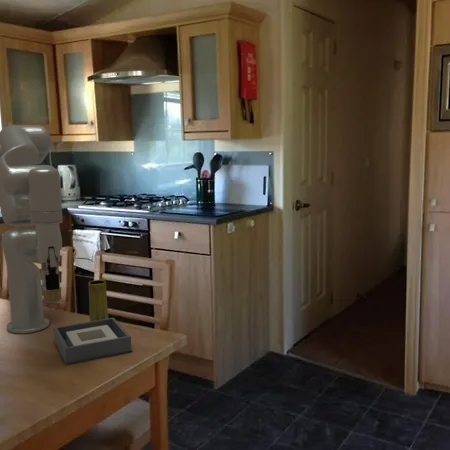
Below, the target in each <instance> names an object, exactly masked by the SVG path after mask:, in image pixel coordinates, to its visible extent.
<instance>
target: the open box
mask: <svg viewBox="0 0 450 450" xmlns="http://www.w3.org/2000/svg"><path fill="white" fill-rule="evenodd" d="M103 325H108V326H109V328H110V329H111V330H112V331H113V333H114V334H115V335H116V336H117V337H118V338H115V339H109V340H104V341H98V342H93V343H87V344H82V345H76V346H71V347H69V346H68V344H67V342H66V332H68V331H74V330H80V329H86V328H91V327H97V326H103ZM53 336H54V337H53V338H54V343H55V345H56V348H57V349H58V351H59V353H60V355H61V357H62V359H63V361H64V363H65V365H66V366H68V365H73V364H74V365H75V364H77V363H78V364H79V363H83V362H84V363H85V362H88V361H89V362H90V361H94V360H99V359H103V358H107V357H108V358H110V357H114V356H119V355H123V354H128V353H132V337H131V335H130V334H129V332H127V330H126V329H125V328H124V327H123V326H122V325H121V324H120V322H118V320H116V318H115V317H108V319H102V320H96V321H90V320H89V321H86V322H78V323H73V324H68V325H67V324H66V325H61V326H56V327H55V326H54V327H53Z"/></svg>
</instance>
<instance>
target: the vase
mask: <svg viewBox="0 0 450 450" xmlns="http://www.w3.org/2000/svg"><path fill="white" fill-rule="evenodd" d="M87 286H88V300H89V301H88V303H89V308H88V309H89V322H90V321H96V320H102V319H108V318H109V309H108V299H107V297H108V295H107V294H108V293H107V282H106V280H103V279H94V280H90V281H88V284H87Z"/></svg>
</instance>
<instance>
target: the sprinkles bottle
mask: <svg viewBox="0 0 450 450" xmlns="http://www.w3.org/2000/svg"><path fill="white" fill-rule="evenodd" d="M48 254H49V253H48ZM49 262H50V260H47V263H49ZM40 265H41V266H40V267H41V270H40V274H41V287H42V296H43V298H42V301H43V302H45V303H48V304H49V303H50V304H51V303H57V302H59V301H61V300H62V295H61V277H60V276H59V289H55V290H46V280H45V275H46V266H45V263H43V264H40ZM49 266H50V265H48V267H49ZM59 267H60V265H59V262H57V268H58V274H59V275H60V269H59Z"/></svg>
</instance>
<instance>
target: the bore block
mask: <svg viewBox="0 0 450 450" xmlns="http://www.w3.org/2000/svg"><path fill="white" fill-rule="evenodd" d="M115 338H118V337H117V336H116V335H115V334H114V333H113V331H112V330H111V329H110V328H109V326H108V325H103V326H97V327H91V328H86V329H80V330H74V331H68V332H66V342H67V344H68V346H69V347H71V346H76V345H82V344H87V343H93V342H98V341H104V340H109V339H115Z"/></svg>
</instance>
